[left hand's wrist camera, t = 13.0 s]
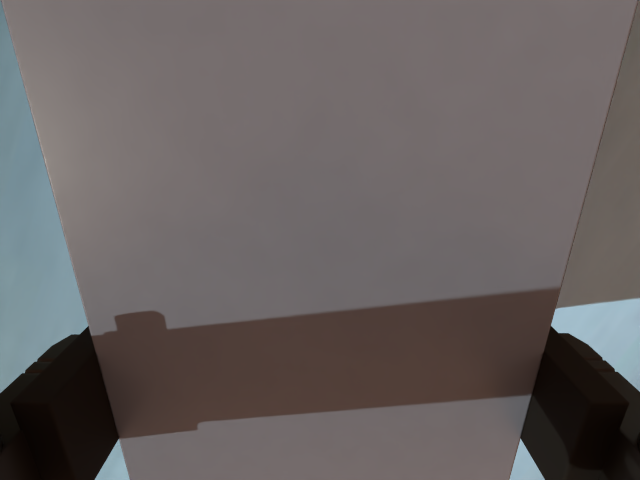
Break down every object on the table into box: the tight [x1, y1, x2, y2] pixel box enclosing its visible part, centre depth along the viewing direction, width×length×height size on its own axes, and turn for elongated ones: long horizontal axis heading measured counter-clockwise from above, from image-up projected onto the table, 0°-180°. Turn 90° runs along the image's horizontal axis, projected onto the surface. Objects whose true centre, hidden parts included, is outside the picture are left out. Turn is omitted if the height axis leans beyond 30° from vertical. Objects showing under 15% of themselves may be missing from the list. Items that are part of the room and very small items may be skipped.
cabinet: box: [1, 0, 639, 480], centre depth 12 cm, size 16×10×10 cm, turn 0°
